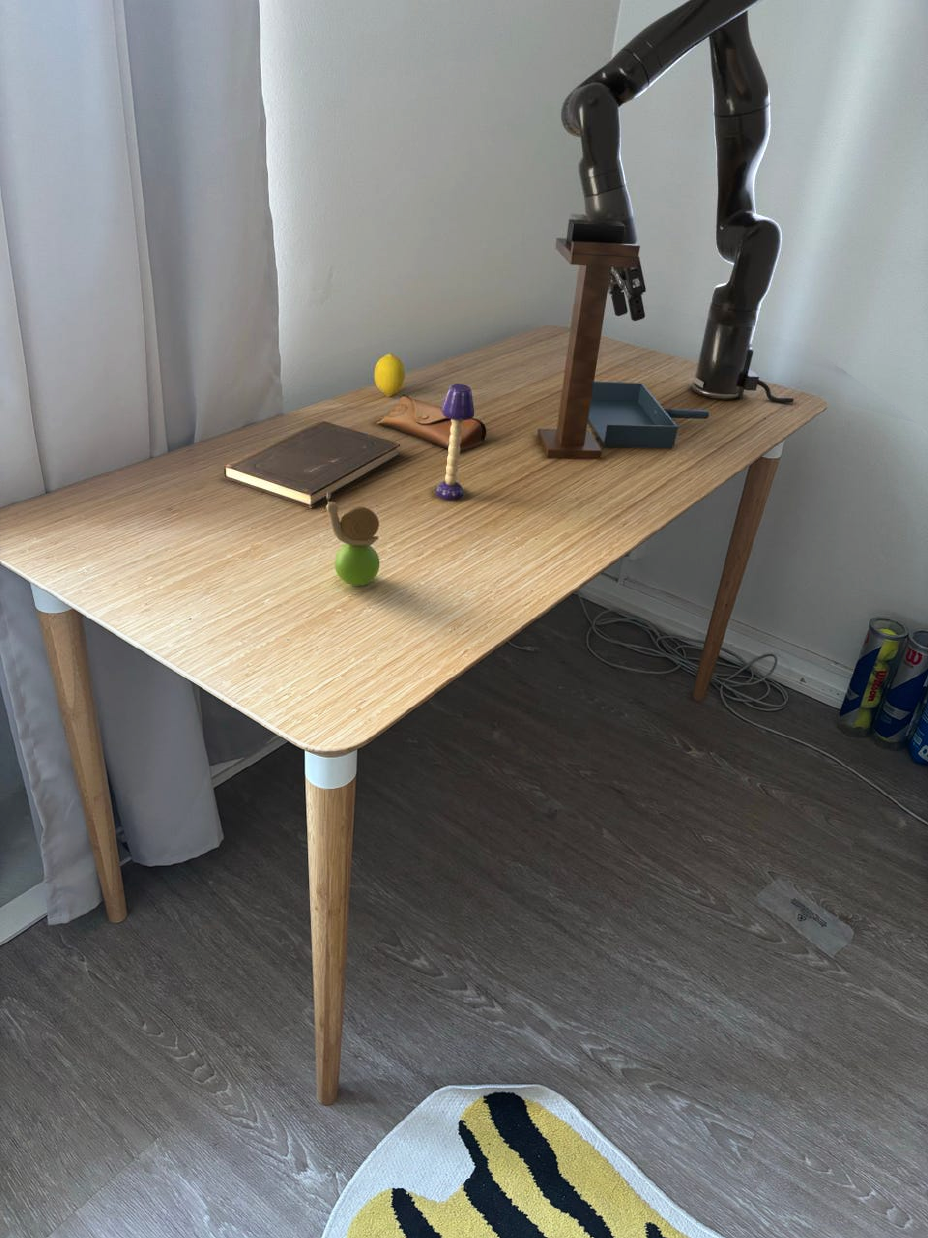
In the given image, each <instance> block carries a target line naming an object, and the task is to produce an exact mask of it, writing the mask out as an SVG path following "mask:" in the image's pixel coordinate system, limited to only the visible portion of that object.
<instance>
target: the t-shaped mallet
mask: <svg viewBox="0 0 928 1238" xmlns="http://www.w3.org/2000/svg"><path fill="white" fill-rule="evenodd" d="M625 228H626V226H624V225H623V224H622V223H620V222H608V221H591V220H590V219H589V218H588V217H587V216H586V214H584V213H570V218H569V219H568V223H567V232H566V238H567V239H566V242H567V243H568V244H569V245H570V246H572V241H580V242H598V243H616V244H623V240H624V234H625Z"/></svg>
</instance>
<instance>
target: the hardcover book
mask: <svg viewBox="0 0 928 1238" xmlns="http://www.w3.org/2000/svg"><path fill="white" fill-rule="evenodd" d="M400 447H401V443H398V442H395V441H392V440H388V439H385V438H382V437H379V436H376V435H372V434H369V433H365V432H362V431H358V430H355V429H352V428H348V427H344V426H341V425H339V424H334V423H332V422H328V421H325V420H322V419H321V420H318V421H316V422H315V423H313V424H310V425H308V426H306V427H304V428H302V429H300V430H297V431H296V432H293V433H291V434H289V435H287V436H285V437H283V438H280V439H278V440H276V441H274V442H273V443H270V444H268V445H266V446H264V447H262V448H260V449H257V450H256V451H253V452H251V453H249V454H247V455H244V456H243V457H241V458H238V459H236V460H234V461H232V462H229V463H227V464H225V465H224V466H223V475H224V477H225V478H226V480H228V481H231V482H234V483H236V484H239V485H242V486H245V487H247V488H251V489H253V490H256V491H259V492H262V493H265V494H268V495H271V496H274V497H277V498H280V499H282V500H286V501H288V502H291V503H295V504H297V505H300V506H303V507H305V508H309V509H313V508H315V507H316V506H318V505H320V504H321V503H323V502H325V501H328V499H327V498H326V496H327V493H328V492H329V493H331V498H332V497H334V496H335V495H337V494H339V493H341V492H342V491H344V490H346V489H347V488H349V487H351V486H353V485H354V484H356V483H358V482H360V481H361V480H363V479H365V478H366V477H368V476H370V475H372V474H373V473H375V472H377V471H378V470H380V469H382V468H384V467H385V466H387V465H388V464H390V463H393V461H395V460H397V459H399V458H400V457H401V455H399V454H398V451H399V450H398V448H400Z"/></svg>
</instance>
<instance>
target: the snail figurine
mask: <svg viewBox="0 0 928 1238" xmlns="http://www.w3.org/2000/svg"><path fill="white" fill-rule="evenodd" d="M326 498H327V504H326V506H325V508H326V512H327V514H328V518H329V519H328V520H329V523H330V526H331V530H332V532H333V533H334V535H335V537H336V538H337V539H338V540H339V541H340V542H342V543H344V545H343V546H341V547H340V548H339V549H338V551H337V553H336V555H335V557H334V568H335V571H336V575H337V576H338V578H339V579H341V581H343V582H344V583H346V584H347V585H350V586H355V587H359V586H360V587H361V586H364V585H367V584H369V583H370V582H372V581H373V580H374V579H375V578H376V576H377V575H378V574H379V570H380V557H379V555H378V552H377V551H376V550H375V548H374V547H372V545H373V544H375V543H376V542H378V540H379V536H378V535H376V534H377V532H378V531H379V528H380V522H379V517H378V516H377V514H376V513H375V512H374V511H373V510H372V509H370V508H368V507H366V506H354V507H351V508H349V509H348V510H346V511H345V512H344V513H343V515H342V516H341V519H340V518H339V517H340V516H339V514H338V511H339V505H338V504H337V502H334V501H329V500H331V498H332V497H331V493H329V492H328V493H327V496H326Z"/></svg>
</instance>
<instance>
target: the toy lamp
mask: <svg viewBox="0 0 928 1238" xmlns="http://www.w3.org/2000/svg"><path fill="white" fill-rule="evenodd" d="M473 400H474V399H473V394H472V389H471V387H470V386H469V385H467V384H463V383H452V384H451V385H450V386H449V388H448V390H447V392H446V396H445V398H444V401H443V404H442V406H441V407H442V410H441V412H442V414H443V415H444V416H445V417H447V418H450V419H451V422H452V425H451V428H450V432H451V435H450V439H449V442H450V445H449V448H448V449H447V451H448V454H447V458H446V462H447V464H446V466H445V467H446V468H445V472H446V474H445V476H444V481H442V482H440V483H439V484H438V485H437V487H436V489H435V495H436V496H437V497H438V498H440V499H442V500H445V501H459V500H461V499H463V498H464V497H465V491H464V488H463V486H462V485H461V484H460V483H459V482H457V480H458V478H457V477H458V476H457V473H458V470H459V466H458V465H459V462H460V454H461V451H460V443H461V433H462V423H463V420H468V419H471V418H472V417H473V418H474V417H475V408H474V401H473Z"/></svg>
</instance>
